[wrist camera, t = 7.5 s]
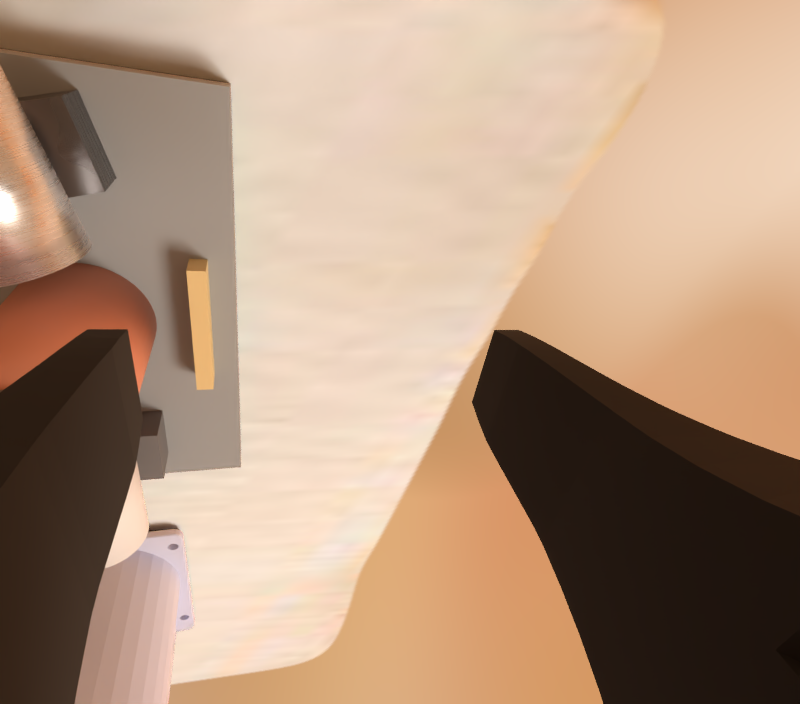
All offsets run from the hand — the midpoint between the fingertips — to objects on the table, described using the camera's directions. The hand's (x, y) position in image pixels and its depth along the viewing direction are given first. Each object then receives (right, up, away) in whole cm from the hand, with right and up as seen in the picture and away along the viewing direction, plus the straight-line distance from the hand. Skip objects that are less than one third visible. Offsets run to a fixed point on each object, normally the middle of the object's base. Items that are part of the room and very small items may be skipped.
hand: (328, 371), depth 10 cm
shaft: (-9, +6, +4) cm, 12 cm away
